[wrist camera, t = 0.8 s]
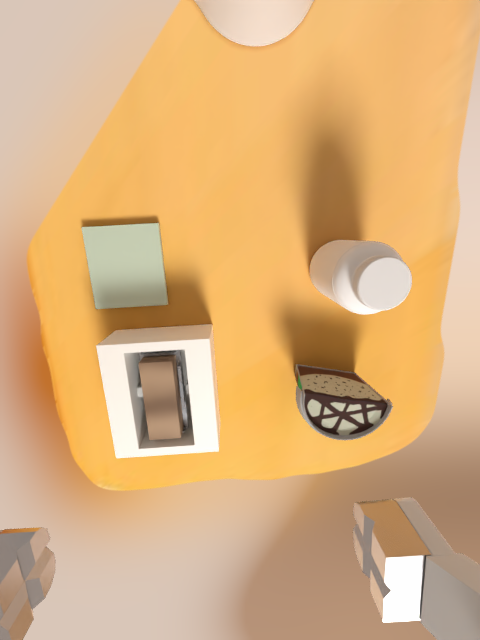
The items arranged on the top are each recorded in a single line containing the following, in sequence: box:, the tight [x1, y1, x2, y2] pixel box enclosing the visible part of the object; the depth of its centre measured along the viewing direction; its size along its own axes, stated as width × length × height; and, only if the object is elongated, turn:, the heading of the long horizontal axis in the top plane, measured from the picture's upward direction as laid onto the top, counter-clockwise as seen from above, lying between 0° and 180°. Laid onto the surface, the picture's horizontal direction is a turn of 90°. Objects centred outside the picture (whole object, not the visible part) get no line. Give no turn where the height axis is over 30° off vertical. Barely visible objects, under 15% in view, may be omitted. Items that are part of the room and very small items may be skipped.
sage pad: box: [82, 223, 169, 309], centre depth 43 cm, size 11×10×1 cm
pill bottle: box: [310, 240, 412, 314], centre depth 38 cm, size 8×8×15 cm
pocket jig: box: [96, 324, 220, 458], centre depth 45 cm, size 16×14×7 cm
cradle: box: [139, 350, 189, 433], centre depth 44 cm, size 12×5×2 cm, turn 3°
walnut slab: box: [138, 355, 184, 440], centre depth 42 cm, size 11×4×3 cm, turn 3°
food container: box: [295, 364, 393, 440], centre depth 44 cm, size 12×6×10 cm, turn 81°
